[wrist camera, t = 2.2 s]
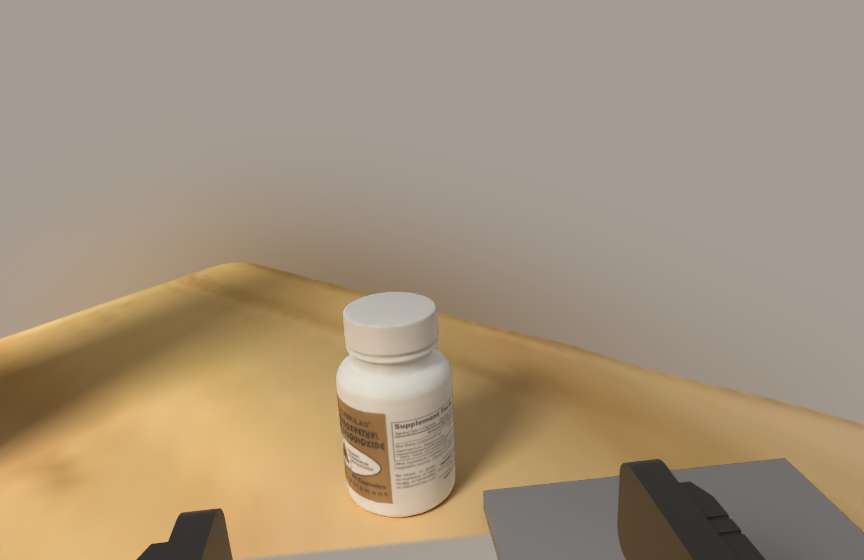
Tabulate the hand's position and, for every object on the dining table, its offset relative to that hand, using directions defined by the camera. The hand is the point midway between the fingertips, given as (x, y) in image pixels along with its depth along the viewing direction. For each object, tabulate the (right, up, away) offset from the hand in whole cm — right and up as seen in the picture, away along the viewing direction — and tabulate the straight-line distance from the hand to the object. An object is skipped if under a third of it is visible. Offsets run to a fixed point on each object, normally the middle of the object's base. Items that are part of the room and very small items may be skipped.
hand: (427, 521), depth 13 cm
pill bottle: (-1, -4, +13) cm, 14 cm away
